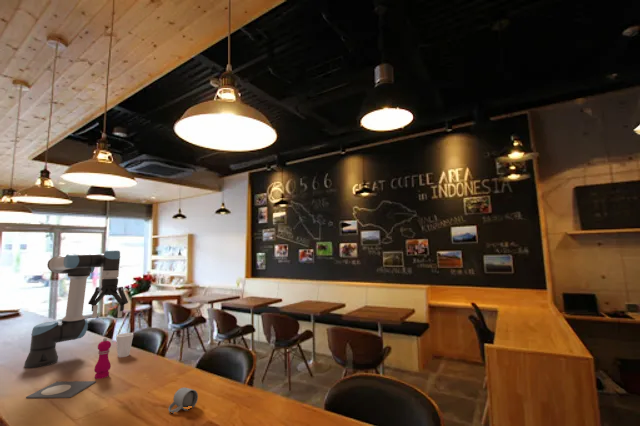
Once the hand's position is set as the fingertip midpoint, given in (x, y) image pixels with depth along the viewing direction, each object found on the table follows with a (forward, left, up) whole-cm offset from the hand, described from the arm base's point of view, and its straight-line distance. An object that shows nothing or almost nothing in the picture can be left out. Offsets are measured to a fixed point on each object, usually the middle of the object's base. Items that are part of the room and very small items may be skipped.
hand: (107, 317), depth 171 cm
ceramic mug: (+58, -36, -31) cm, 75 cm away
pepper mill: (0, 0, -31) cm, 31 cm away
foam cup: (-9, +34, -31) cm, 47 cm away
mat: (-8, -16, -31) cm, 36 cm away
